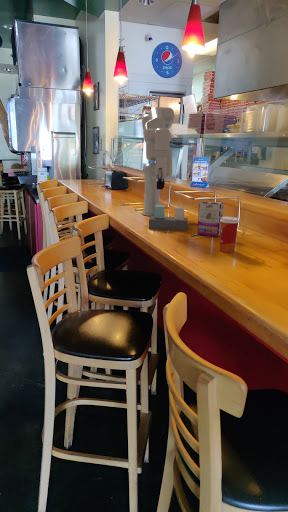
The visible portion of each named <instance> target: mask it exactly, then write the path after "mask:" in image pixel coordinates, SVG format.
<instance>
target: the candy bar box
mask: <svg viewBox="0 0 288 512" xmlns="http://www.w3.org/2000/svg"><path fill="white" fill-rule="evenodd" d="M222 217H224V202H222V201H220V202H219V201H211V200H210V201H207V200H201V201H199V202H198V217H197V235H199V234H203V235H202V236H209V237H217V238H220V228H221V221H220V220H221V218H222Z"/></svg>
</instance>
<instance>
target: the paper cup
mask: <svg viewBox="0 0 288 512" xmlns="http://www.w3.org/2000/svg"><path fill="white" fill-rule="evenodd" d="M220 221H221V228H220V236H219V238H220V239H219V241H220V242H219V251H220V252H221V253H224V254H225V253H226V254H230V253H234V251H235V245H236V240H237V239H236V238H237V233H238V232H237V231H238V225H239V223H240V222H239V221H240V220H239V218H238V217H234V216H223V217H222V218H221V220H220Z"/></svg>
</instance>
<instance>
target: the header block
mask: <svg viewBox="0 0 288 512" xmlns="http://www.w3.org/2000/svg"><path fill="white" fill-rule="evenodd" d="M173 215H174V216H164V218H163V219H156V218H154V216H149V218H148V229H149V230H164V229H166V231H167V230H168V231H169V230H171V231H188V220H189V218H188V217H185V207H184V206H174V214H173Z"/></svg>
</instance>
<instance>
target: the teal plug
mask: <svg viewBox="0 0 288 512" xmlns="http://www.w3.org/2000/svg"><path fill="white" fill-rule="evenodd" d="M165 208H166V205H161V204H159V205H155V210H154V218H156V219H163V218H164V217H165V211H166V209H165Z"/></svg>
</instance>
